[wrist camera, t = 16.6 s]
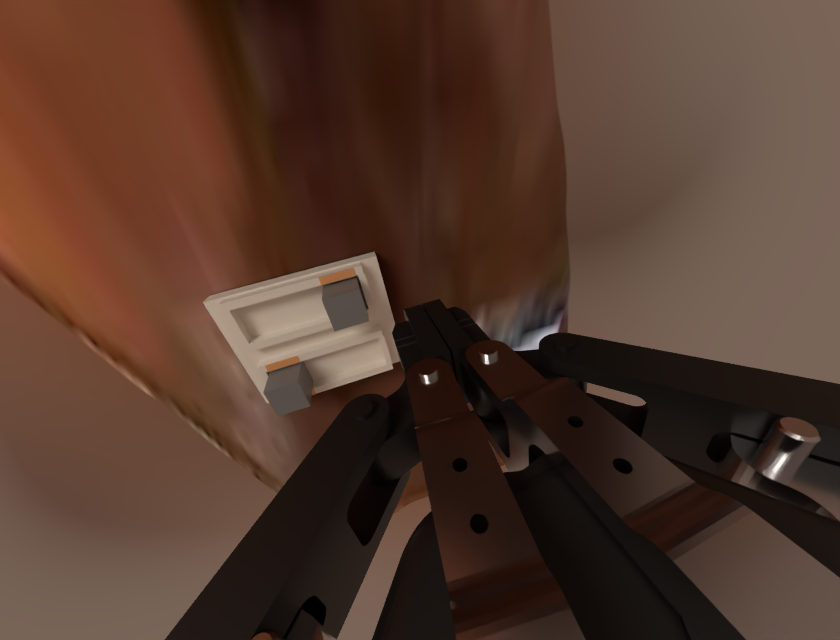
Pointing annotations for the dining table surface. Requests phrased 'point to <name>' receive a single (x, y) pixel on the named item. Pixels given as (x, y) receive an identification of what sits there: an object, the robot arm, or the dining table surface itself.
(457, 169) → the dining table surface
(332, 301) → the tab
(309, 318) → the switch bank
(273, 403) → the tab
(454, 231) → the dining table surface
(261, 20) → the dining table surface
